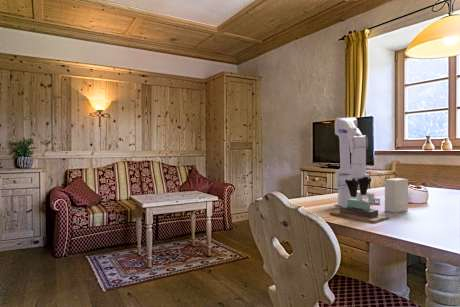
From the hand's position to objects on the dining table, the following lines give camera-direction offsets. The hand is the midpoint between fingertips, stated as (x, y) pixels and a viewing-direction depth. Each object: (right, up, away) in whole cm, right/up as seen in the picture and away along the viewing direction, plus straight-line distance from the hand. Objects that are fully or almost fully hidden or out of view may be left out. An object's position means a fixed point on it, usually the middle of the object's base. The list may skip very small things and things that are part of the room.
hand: (358, 195), depth 132 cm
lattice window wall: (+17, -8, +29) cm, 35 cm away
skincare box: (+21, -9, +10) cm, 25 cm away
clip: (0, -8, 0) cm, 8 cm away
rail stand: (0, -9, 0) cm, 9 cm away
